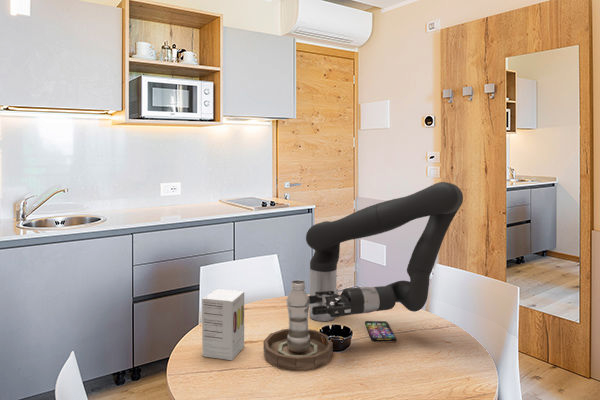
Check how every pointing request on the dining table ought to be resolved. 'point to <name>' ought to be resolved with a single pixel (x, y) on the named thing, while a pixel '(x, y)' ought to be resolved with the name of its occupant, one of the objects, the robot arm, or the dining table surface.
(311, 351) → the walnut tray
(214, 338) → the supplement box
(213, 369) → the dining table surface
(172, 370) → the dining table surface
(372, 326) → the smartphone
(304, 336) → the plastic bottle
